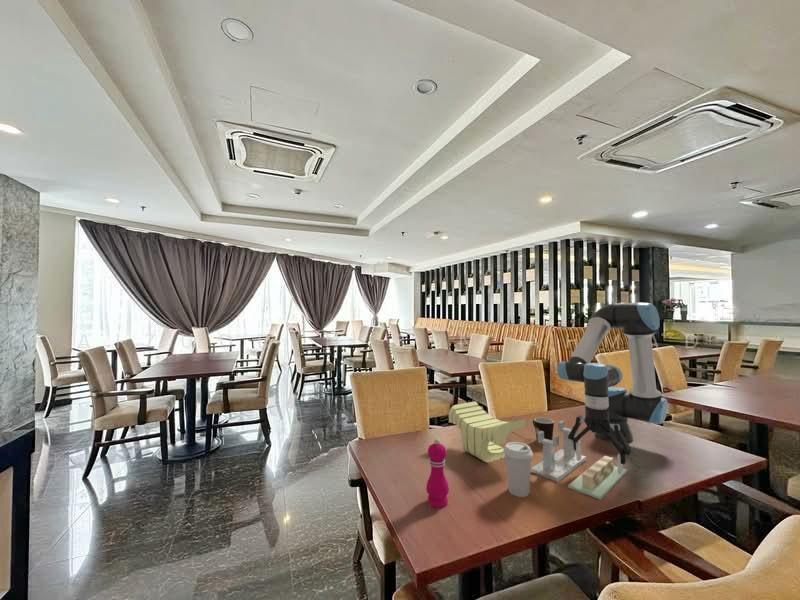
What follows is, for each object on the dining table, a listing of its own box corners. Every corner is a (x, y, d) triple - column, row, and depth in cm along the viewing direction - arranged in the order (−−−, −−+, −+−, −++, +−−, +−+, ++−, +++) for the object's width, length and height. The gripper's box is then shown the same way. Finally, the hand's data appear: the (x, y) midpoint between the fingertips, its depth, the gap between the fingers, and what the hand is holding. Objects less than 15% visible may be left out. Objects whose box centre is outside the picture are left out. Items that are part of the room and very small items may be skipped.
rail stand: (561, 452, 143) (560, 418, 143) (586, 460, 135) (585, 424, 136) (531, 472, 126) (530, 433, 126) (557, 482, 118) (556, 440, 119)
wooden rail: (605, 466, 128) (604, 455, 128) (613, 468, 126) (613, 458, 126) (582, 486, 114) (582, 474, 114) (592, 489, 111) (591, 477, 112)
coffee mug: (556, 446, 149) (556, 424, 149) (536, 445, 151) (535, 423, 151) (550, 437, 160) (549, 416, 161) (531, 435, 162) (531, 415, 162)
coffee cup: (518, 502, 106) (517, 454, 106) (498, 488, 115) (497, 443, 115) (540, 495, 110) (539, 449, 110) (519, 482, 118) (518, 439, 119)
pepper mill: (424, 496, 110) (424, 435, 110) (446, 495, 110) (445, 434, 111) (428, 509, 102) (427, 443, 103) (451, 508, 103) (450, 442, 104)
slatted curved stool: (449, 445, 152) (448, 406, 152) (476, 438, 159) (475, 401, 160) (497, 473, 125) (496, 425, 126) (526, 463, 133) (525, 418, 133)
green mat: (597, 462, 133) (597, 460, 133) (627, 471, 125) (627, 469, 125) (568, 487, 114) (568, 485, 114) (600, 499, 107) (600, 497, 107)
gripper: (557, 402, 128) (559, 457, 127) (634, 416, 109) (637, 482, 108) (565, 398, 133) (567, 452, 132) (640, 412, 114) (643, 474, 113)
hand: (598, 466), depth 120 cm, fingers open, 13 cm apart
